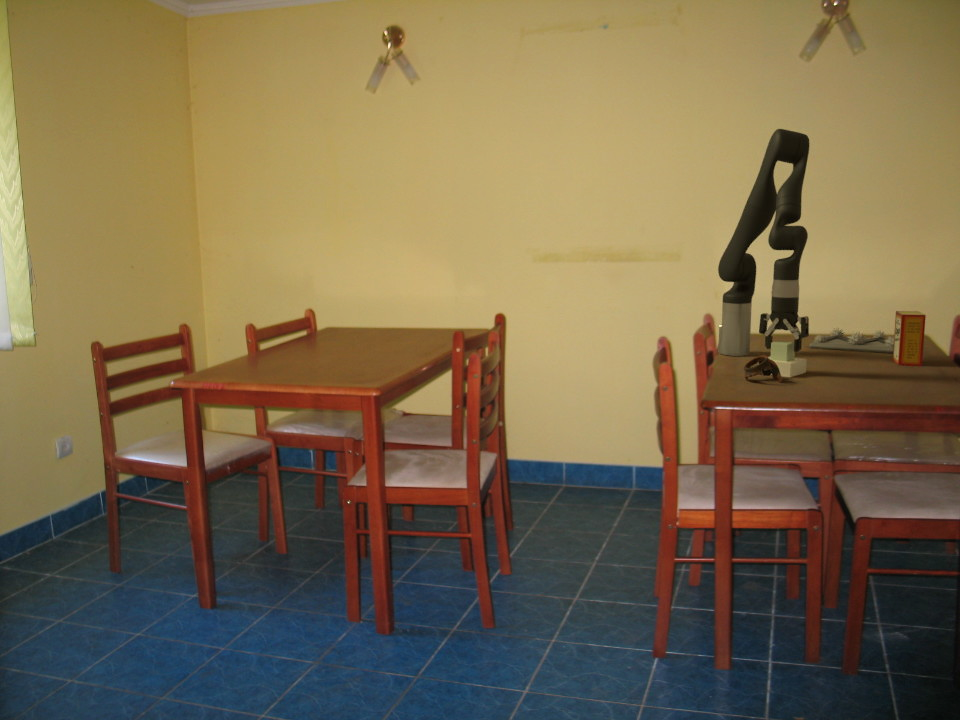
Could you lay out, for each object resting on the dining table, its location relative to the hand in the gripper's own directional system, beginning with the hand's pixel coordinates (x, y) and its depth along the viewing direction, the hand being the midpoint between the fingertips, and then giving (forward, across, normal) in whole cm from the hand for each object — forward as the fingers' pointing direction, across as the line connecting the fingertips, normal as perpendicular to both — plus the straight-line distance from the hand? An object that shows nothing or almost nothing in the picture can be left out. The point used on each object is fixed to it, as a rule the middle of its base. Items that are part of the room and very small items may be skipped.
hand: (782, 350), depth 262 cm
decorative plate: (+8, +3, -62) cm, 63 cm away
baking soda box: (+7, -21, -40) cm, 46 cm away
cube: (+3, 0, 0) cm, 3 cm away
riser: (+7, 0, 0) cm, 7 cm away
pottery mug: (+7, -2, +14) cm, 16 cm away
